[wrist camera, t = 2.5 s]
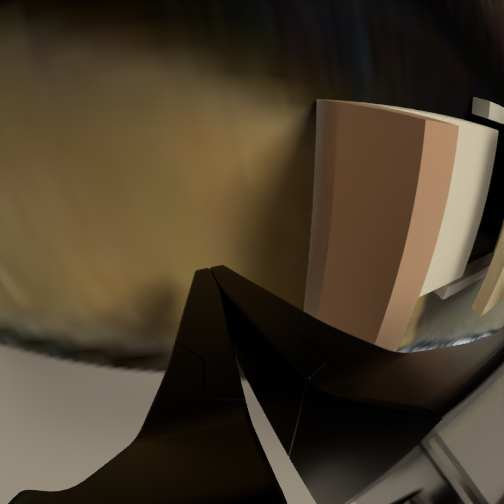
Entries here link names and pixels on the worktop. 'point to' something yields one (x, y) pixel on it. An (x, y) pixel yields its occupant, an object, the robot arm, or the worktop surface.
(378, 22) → the worktop surface
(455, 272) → the beige blocky piece
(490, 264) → the beige open box
